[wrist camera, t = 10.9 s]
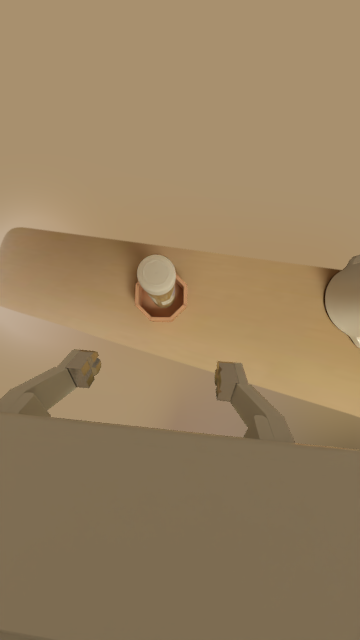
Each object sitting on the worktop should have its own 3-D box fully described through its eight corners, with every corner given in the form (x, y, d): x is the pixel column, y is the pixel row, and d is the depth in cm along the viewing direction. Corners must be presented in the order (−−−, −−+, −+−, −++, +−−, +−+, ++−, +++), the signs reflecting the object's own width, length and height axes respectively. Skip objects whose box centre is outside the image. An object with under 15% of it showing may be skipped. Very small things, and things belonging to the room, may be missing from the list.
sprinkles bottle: (175, 308, 32) (176, 292, 19) (152, 308, 32) (135, 292, 19) (175, 285, 33) (175, 253, 19) (152, 285, 32) (135, 252, 19)
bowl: (185, 276, 33) (187, 270, 30) (185, 321, 33) (186, 320, 29) (140, 275, 33) (135, 269, 30) (138, 321, 33) (134, 320, 29)
